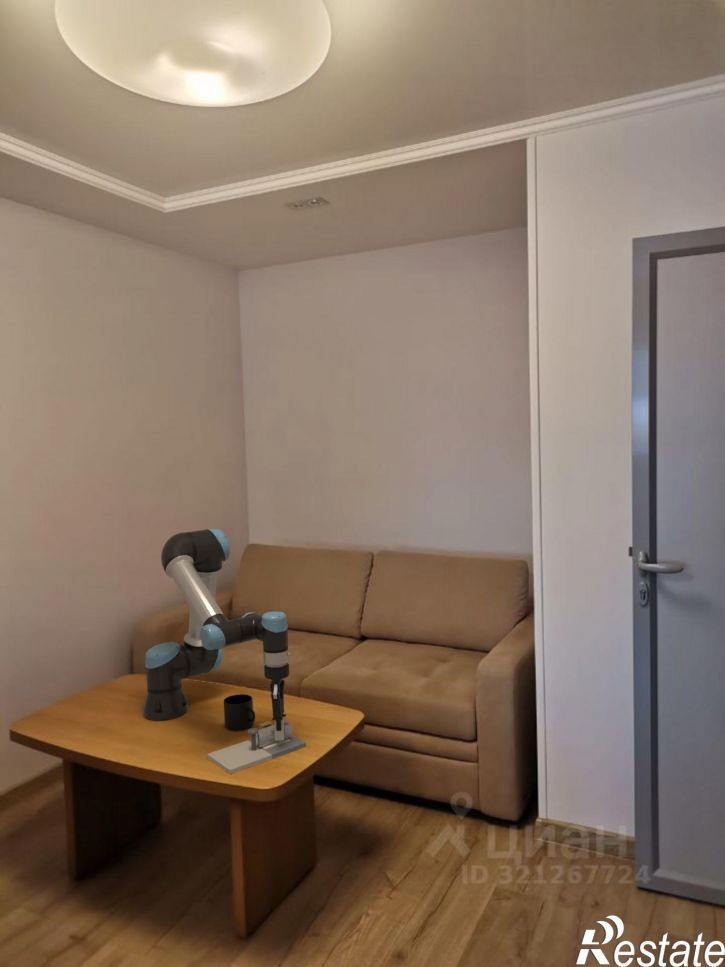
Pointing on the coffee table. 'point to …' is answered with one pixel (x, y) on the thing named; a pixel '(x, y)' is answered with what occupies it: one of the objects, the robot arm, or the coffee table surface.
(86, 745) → the coffee table surface
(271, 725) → the block
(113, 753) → the coffee table surface
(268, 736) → the bar
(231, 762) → the door board
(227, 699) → the mug
